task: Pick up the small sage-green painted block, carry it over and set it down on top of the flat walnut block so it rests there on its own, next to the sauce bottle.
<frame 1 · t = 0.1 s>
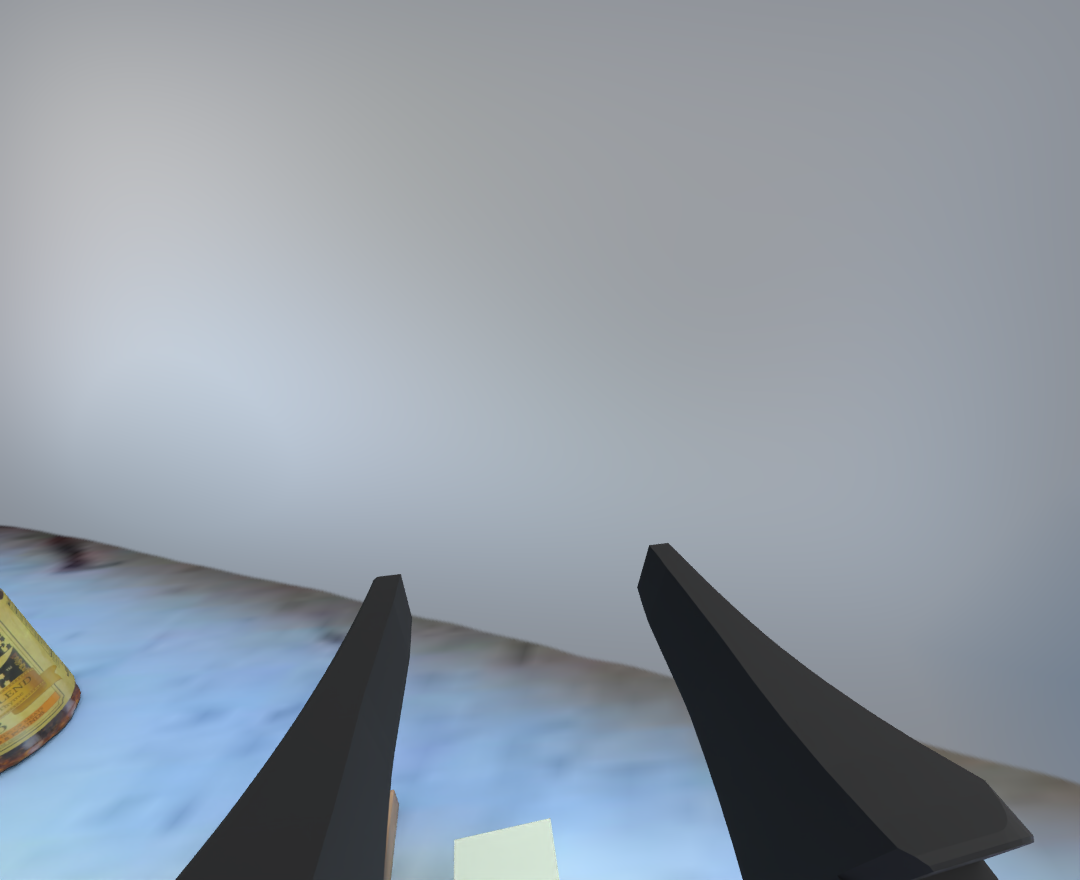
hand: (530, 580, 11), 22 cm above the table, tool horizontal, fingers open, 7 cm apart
sauce bottle: (26, 729, 26), on the table
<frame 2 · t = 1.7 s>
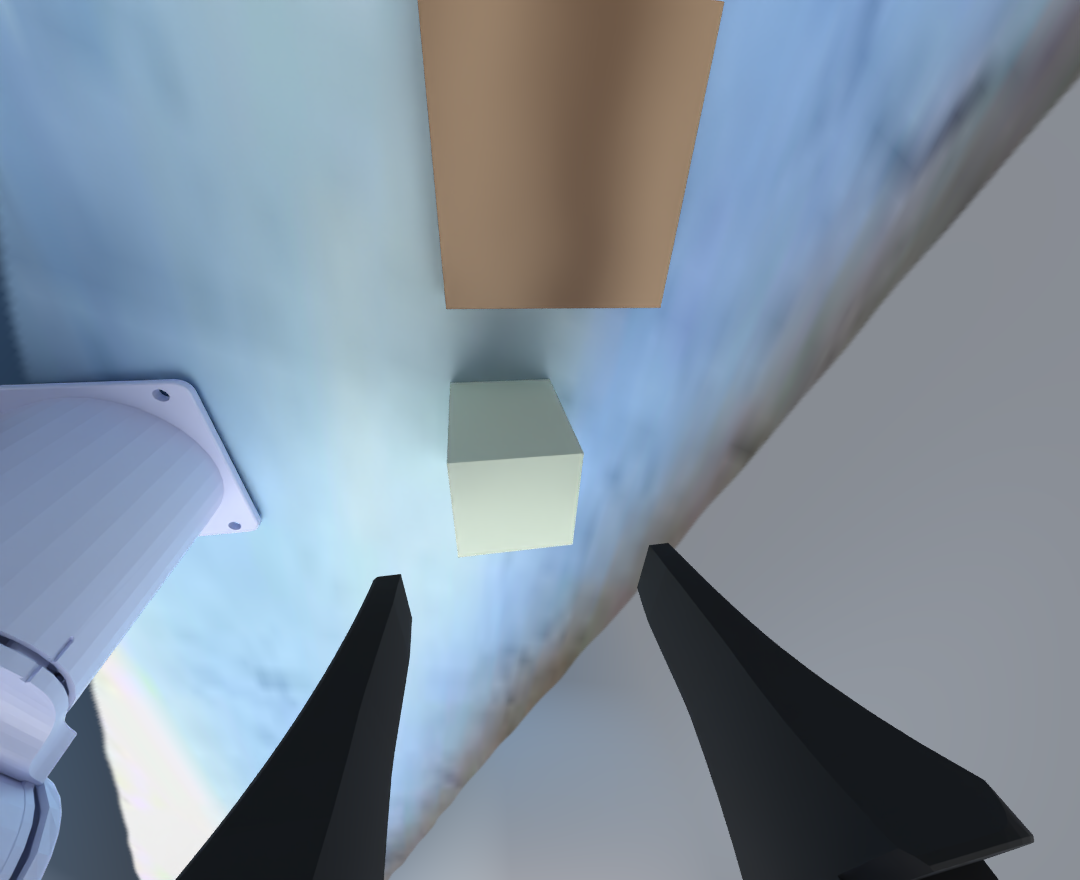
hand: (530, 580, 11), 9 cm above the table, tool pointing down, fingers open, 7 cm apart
sage block: (501, 422, 19), on the table
walnut base block: (551, 176, 14), on the table
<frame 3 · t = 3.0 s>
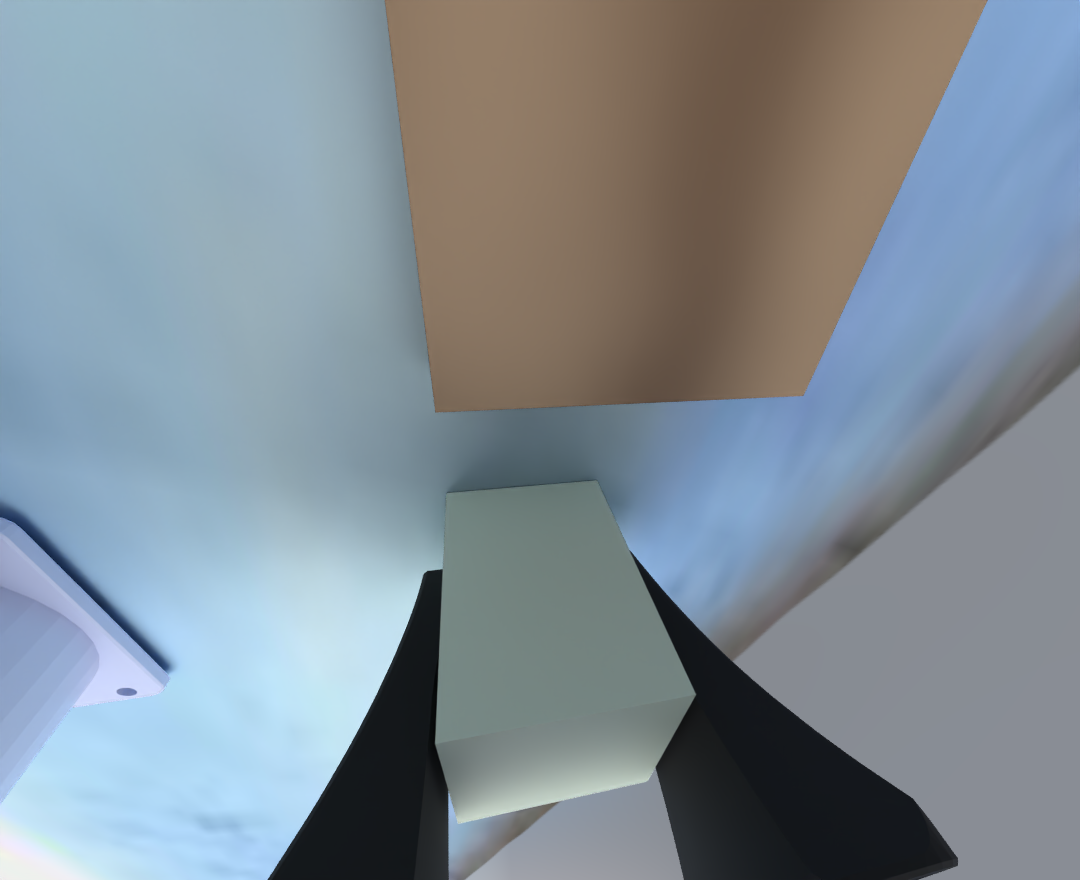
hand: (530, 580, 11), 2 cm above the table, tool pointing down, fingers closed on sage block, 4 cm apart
sage block: (523, 538, 13), on the table, touching gripper
walnut base block: (623, 170, 8), on the table
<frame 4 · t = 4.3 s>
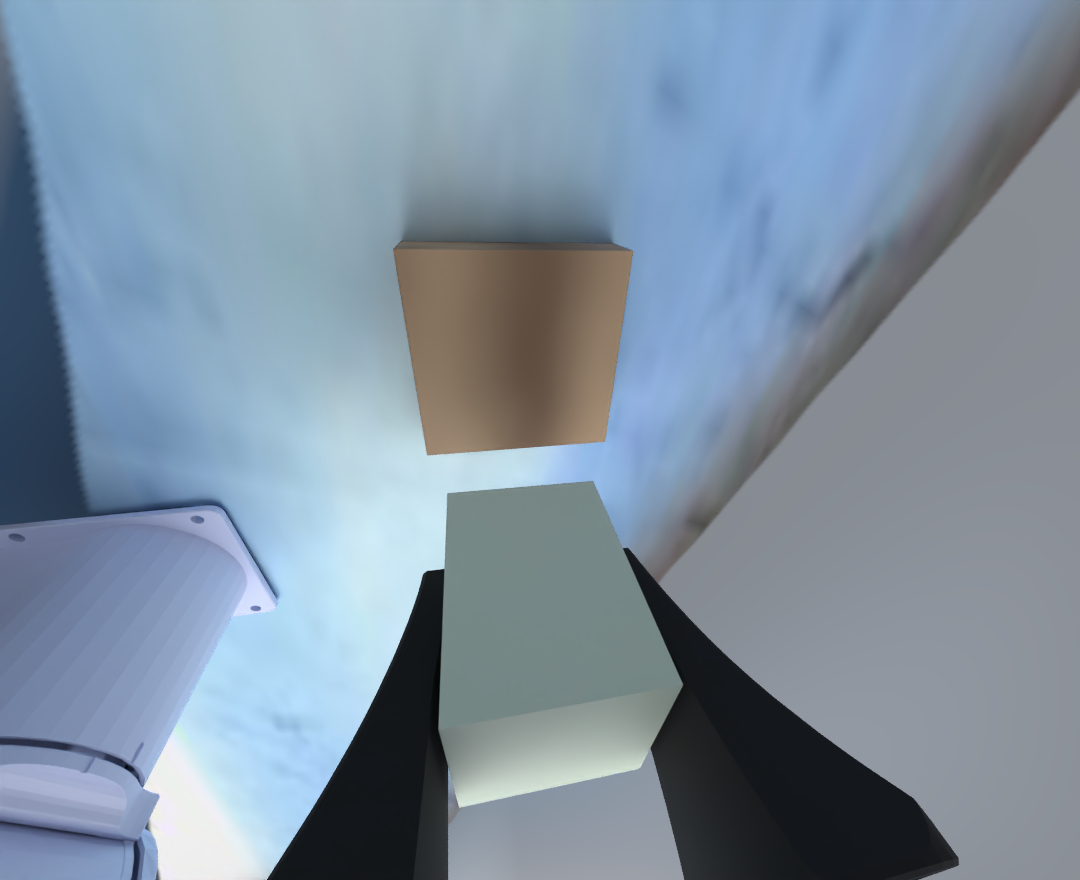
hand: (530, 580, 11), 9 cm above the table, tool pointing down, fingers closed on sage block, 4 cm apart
sage block: (521, 537, 13), point 7 cm above the table, touching gripper
walnut base block: (512, 342, 17), on the table
when the fingers open (5 cm above the table, at t = 5.8 s): sage block stays where it is, resting on walnut base block.
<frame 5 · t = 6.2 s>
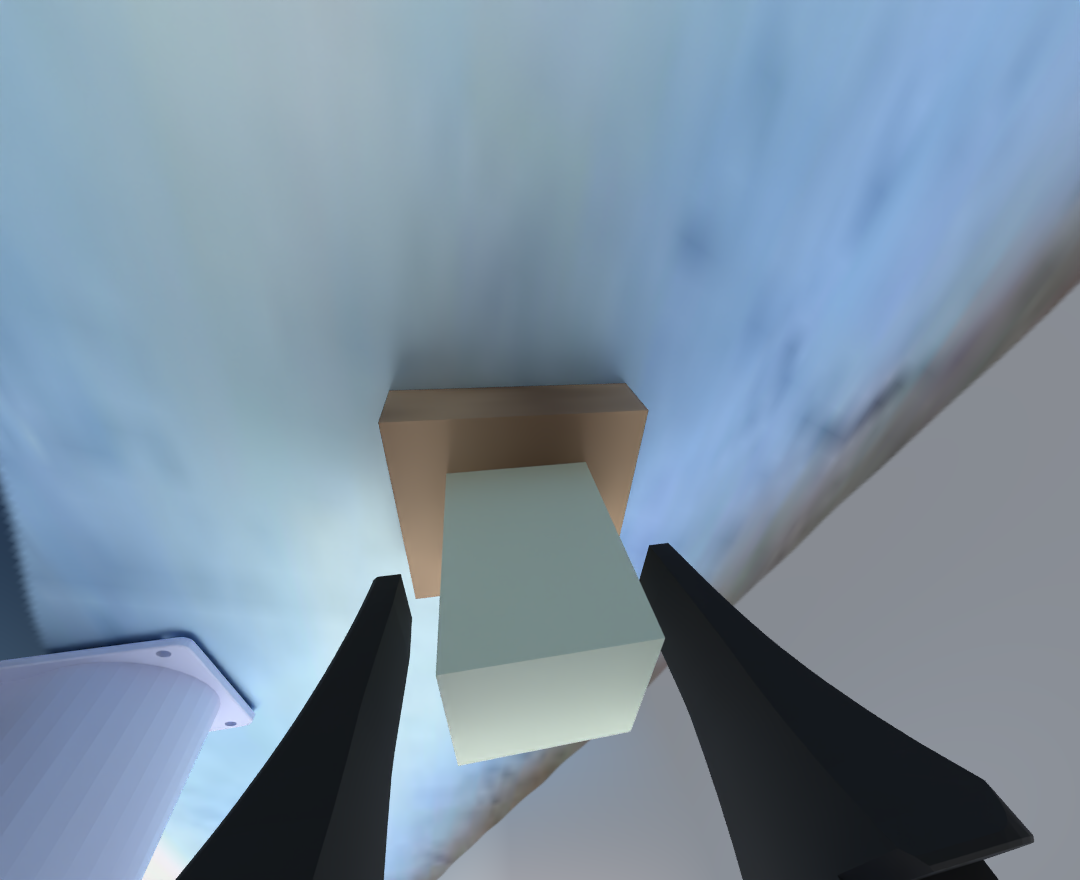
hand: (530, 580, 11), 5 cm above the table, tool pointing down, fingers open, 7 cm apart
sage block: (518, 518, 14), point 2 cm above the table, touching walnut base block
walnut base block: (511, 471, 16), on the table, touching sage block
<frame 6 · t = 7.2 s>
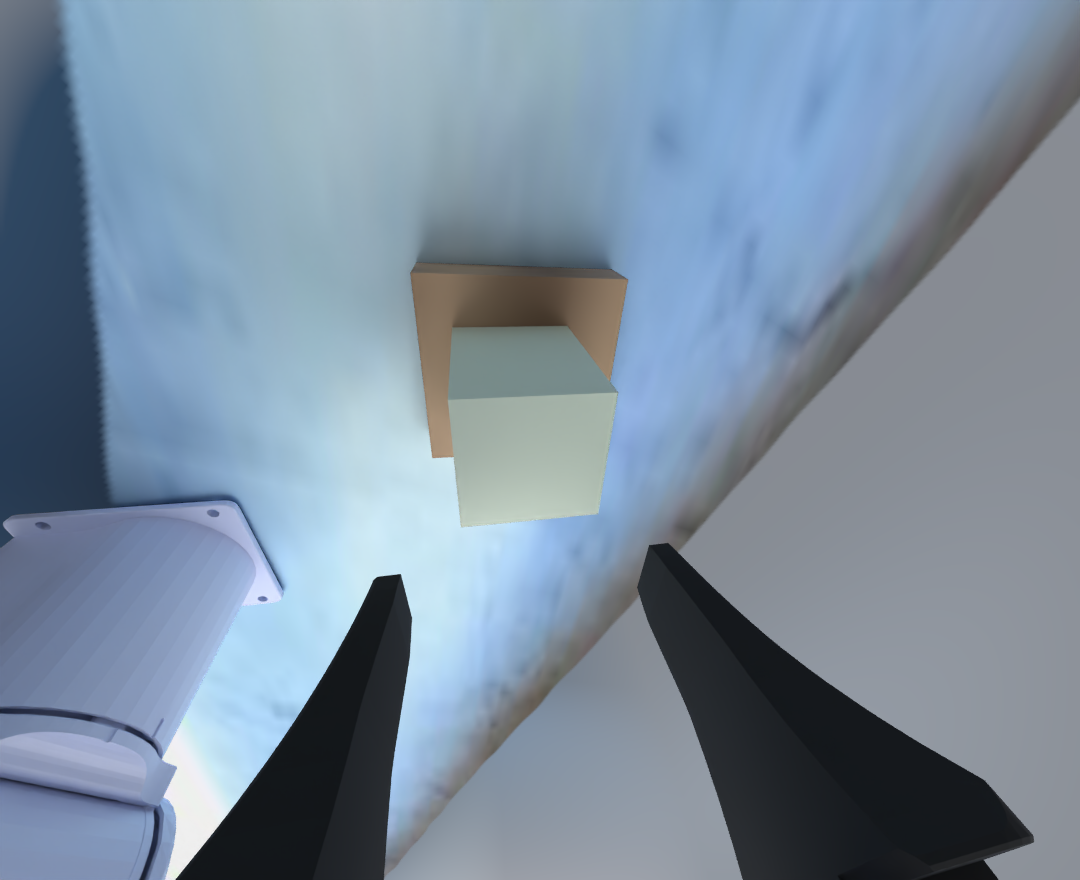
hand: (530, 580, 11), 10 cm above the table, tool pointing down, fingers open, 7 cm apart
sage block: (511, 379, 16), point 2 cm above the table
walnut base block: (514, 355, 18), on the table
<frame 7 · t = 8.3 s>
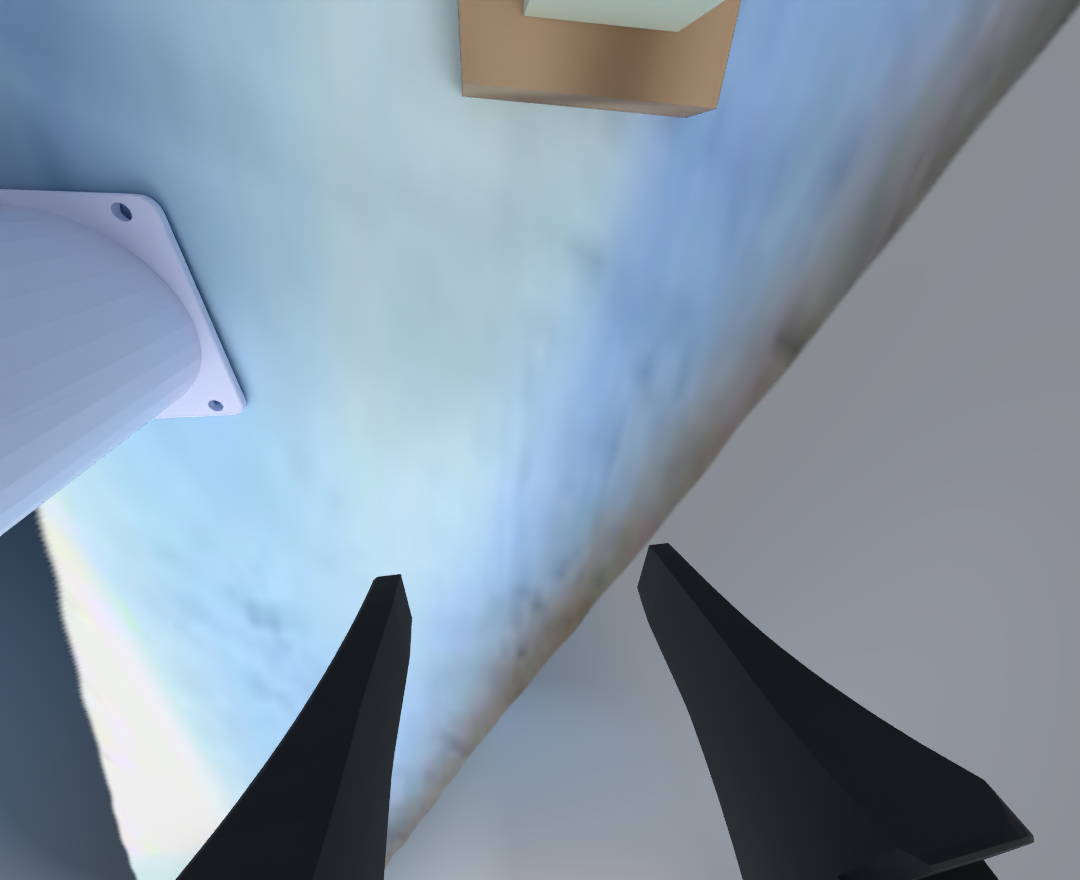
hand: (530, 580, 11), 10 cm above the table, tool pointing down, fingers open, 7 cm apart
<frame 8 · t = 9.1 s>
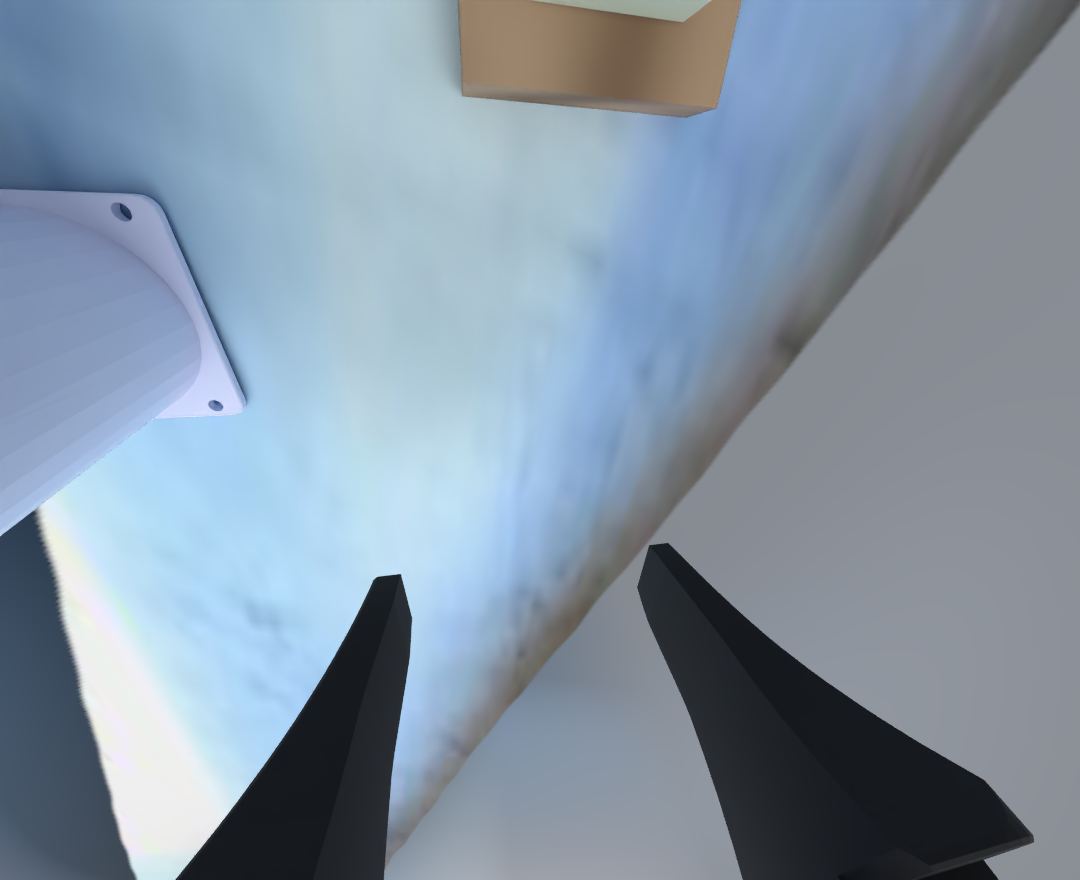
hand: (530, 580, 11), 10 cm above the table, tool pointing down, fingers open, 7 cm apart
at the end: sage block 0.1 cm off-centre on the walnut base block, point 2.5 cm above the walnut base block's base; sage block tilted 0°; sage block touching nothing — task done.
